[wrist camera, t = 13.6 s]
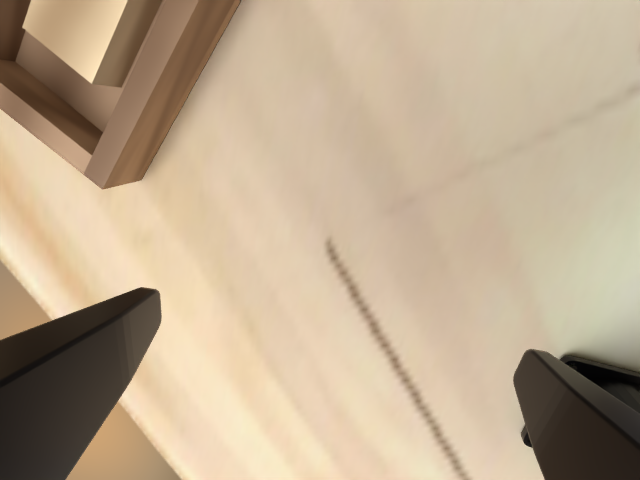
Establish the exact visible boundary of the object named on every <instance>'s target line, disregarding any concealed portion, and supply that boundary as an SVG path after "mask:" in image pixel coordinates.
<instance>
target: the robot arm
mask: <svg viewBox="0 0 640 480" xmlns="http://www.w3.org/2000/svg"><path fill="white" fill-rule="evenodd" d="M161 317H162V316H161V300H160V293H159V291H158V290H156V289H151V288H145V287H140V288H137V289H135V290H132V291H130V292H127V293H124V294H122V295H119V296H116V297H114V298H111V299H108V300H106V301H103V302H100V303H98V304H95V305H92V306H90V307H87V308H84V309H82V310H79V311H76V312H74V313H71V314H68V315H66V316H63V317H60V318H58V319H55V320H52V321H50V322H47V323H44V324H42V325H39V326H37V327H34V328H31V329H28V330H26V331H23V332H20V333H18V334H15V335H12V336H10V337H7V338H5V339H2V340H0V480H66V478H67V476H68V475H69V474H70V472H71V471H72V469H73V468H74V466H75V465H76V463H77V462H78V460H79V459H80V457H81V456H82V454H83V453H84V451H85V450H86V448H87V447H88V445H89V443H90V442H91V441H92V439H93V438H94V436H95V435H96V433H97V432H98V430H99V428H100V427H101V426H102V424H103V422H104V421H105V419H106V418H107V417H108V415H109V414H110V412H111V410H112V409H113V408H114V406H115V405H116V403H117V402H118V400H119V398H120V397H121V395H122V394H123V392H124V391H125V389H126V388H127V386H128V385H129V383H130V381H131V380H132V378H133V376H134V374H135V372H136V371H137V369H138V367H139V365H140V363H141V361H142V359H143V357H144V355H145V353H146V351H147V350H148V348H149V346H150V344H151V342H152V340H153V338H154V336H155V334H156V332H157V330H158V328H159V326H160V324H161ZM571 364H574V365H573V366H571V367H569V365H571ZM513 381H514V387H515V390H516V394H517V397H518V400H519V404H520V407H521V411H522V414H523V418H524V421H525V427H524V429H523V431H522V433H521V437H522V439H523V442H524V444H525V445H527V446H529V447H532V448H533V450H534V453H535V456H536V458H537V461H538V464H539V466H540V469H541V471H542V474H543V476H544V479H545V480H640V373H637V372H634V371H630V370H626V369H622V368H618V367H614V366H610V365H606V364H602V363H598V362H594V361H590V360H586V359H582V358H578V357H574V356H565V357H563V358H561V359H560V360H559V359H557V358H556V357H554V356H553V355H551V354H550V353H548V352H545V351H540V350H533V349H529V350H527V351H526V352H525V353H524V355H523V357H522V359H521V361H520V363H519V365H518V367H517V369H516V371H515V374H514V379H513Z"/></svg>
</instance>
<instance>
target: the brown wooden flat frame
mask: <svg viewBox="0 0 640 480" xmlns="http://www.w3.org/2000/svg"><path fill="white" fill-rule="evenodd" d="M240 1H241V0H0V109H1V110H3V111H4V112H5V113H6V114H8V115H9V116H10V117H11V118H13V119H14V120H15V121H16V122H18V123H19V124H20V125H22V126H23V127H24V128H25V129H27V130H28V131H29V132H30V133H32V134H33V135H34V136H35V137H37V138H38V139H39V140H40V141H42V142H43V143H44V144H46V145H47V146H48V147H49V148H51V149H52V150H53V151H54V152H56V153H57V154H58V155H59V156H61V157H62V158H63V159H65V160H66V161H67V162H68V163H70V164H71V165H72V166H73V167H75V168H76V169H77V170H78V171H80V172H81V173H82V174H83V175H85V176H86V177H87V178H89V179H90V180H91V181H92V182H94V183H95V184H96V185H97V186H99V187H100V188H101V189H107V188H111V187H115V186H119V185H123V184H127V183H132V182H136V181H140V180H141V179H142V178H143V176H144V174H145V172H146V170H147V169H148V167H149V165H150V163H151V161H152V160H153V158H154V156H155V154H156V152H157V151H158V149H159V147H160V145H161V143H162V142H163V140H164V138H165V136H166V134H167V133H168V131H169V129H170V127H171V125H172V124H173V122H174V120H175V118H176V116H177V115H178V113H179V111H180V109H181V107H182V106H183V104H184V102H185V100H186V98H187V97H188V95H189V93H190V91H191V89H192V88H193V86H194V84H195V82H196V80H197V79H198V77H199V75H200V73H201V71H202V70H203V68H204V66H205V64H206V62H207V61H208V59H209V57H210V55H211V53H212V52H213V50H214V48H215V46H216V45H217V43H218V41H219V39H220V37H221V36H222V34H223V32H224V30H225V28H226V27H227V25H228V23H229V21H230V19H231V18H232V16H233V14H234V12H235V10H236V9H237V7H238V5H239V3H240Z"/></svg>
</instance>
